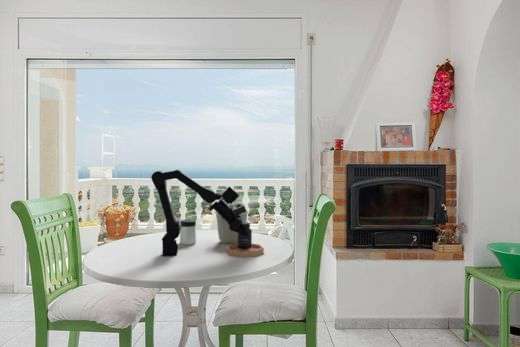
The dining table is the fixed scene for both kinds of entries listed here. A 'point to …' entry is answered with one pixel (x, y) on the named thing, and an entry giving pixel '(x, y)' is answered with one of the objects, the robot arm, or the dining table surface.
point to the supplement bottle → (245, 237)
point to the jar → (188, 232)
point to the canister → (224, 230)
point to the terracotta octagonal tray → (245, 250)
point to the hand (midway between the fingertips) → (247, 234)
